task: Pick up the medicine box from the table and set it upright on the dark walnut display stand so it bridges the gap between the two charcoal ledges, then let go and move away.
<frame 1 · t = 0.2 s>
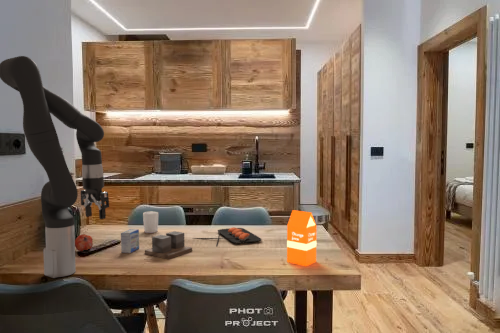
hand: (95, 217, 148), 18 cm above the table, tool pointing down, fingers open, 8 cm apart
display stand: (168, 252, 163), on the table
sushi plate: (223, 240, 187), on the table
orange juice: (301, 262, 150), on the table
red tomato: (83, 251, 166), on the table
white cup: (151, 231, 202), on the table
medicine box: (130, 251, 166), on the table
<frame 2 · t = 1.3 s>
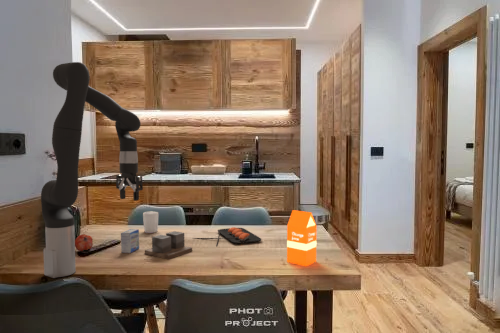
hand: (129, 199, 165), 22 cm above the table, tool pointing down, fingers open, 8 cm apart
nothing on the table moved.
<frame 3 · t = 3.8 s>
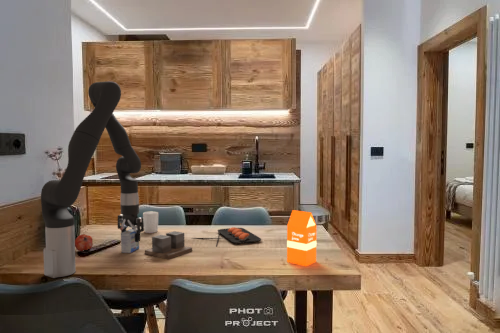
hand: (130, 240, 166), 4 cm above the table, tool pointing down, fingers open, 8 cm apart
nothing on the table moved.
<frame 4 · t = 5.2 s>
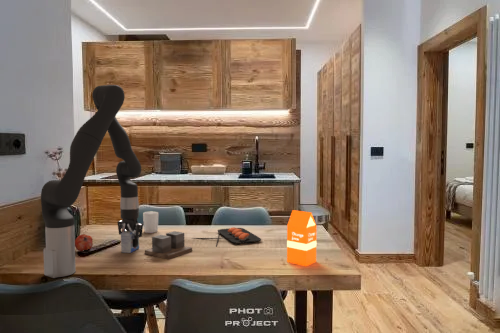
hand: (130, 245, 166), 2 cm above the table, tool pointing down, fingers closed on medicine box, 5 cm apart
medicine box: (130, 250, 166), on the table, touching gripper
everything else where it was.
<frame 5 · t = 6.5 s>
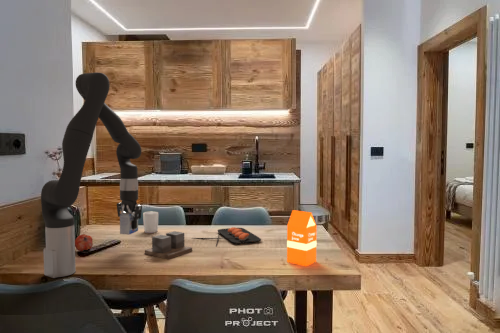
hand: (129, 227, 165), 10 cm above the table, tool pointing down, fingers closed on medicine box, 5 cm apart
medicine box: (129, 233, 166), point 8 cm above the table, touching gripper
everything else where it was.
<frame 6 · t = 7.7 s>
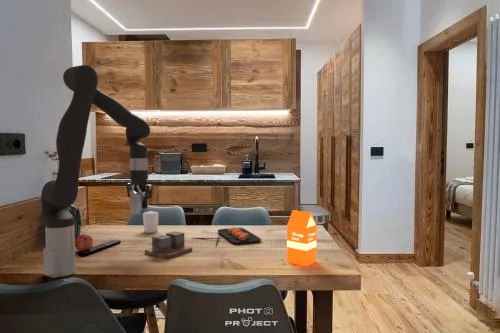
hand: (139, 207, 165), 19 cm above the table, tool pointing down, fingers closed on medicine box, 5 cm apart
medicine box: (139, 213, 165), point 16 cm above the table, touching gripper
everything else where it was.
when the fingers open (10 cm above the table, at t = 10.5 s): medicine box stays where it is, resting on display stand.
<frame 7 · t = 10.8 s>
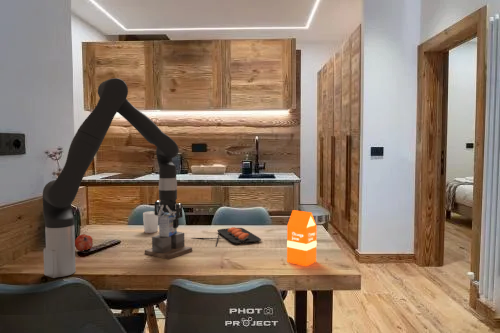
hand: (168, 226, 163), 11 cm above the table, tool pointing down, fingers open, 8 cm apart
medicine box: (168, 235, 163), point 7 cm above the table, touching display stand
everything else where it was.
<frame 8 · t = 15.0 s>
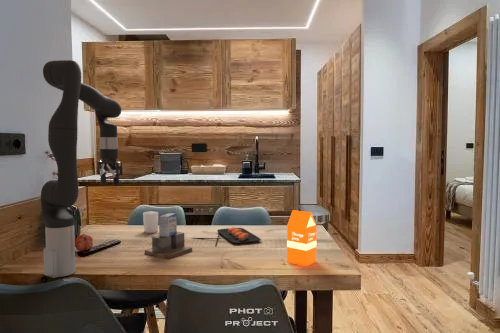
hand: (109, 185, 167), 28 cm above the table, tool pointing down, fingers open, 8 cm apart
nothing on the table moved.
at the end: medicine box 0.2 cm off-centre on the display stand, point 7.3 cm above the display stand's base; medicine box tilted 0°; the gripper is holding nothing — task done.
